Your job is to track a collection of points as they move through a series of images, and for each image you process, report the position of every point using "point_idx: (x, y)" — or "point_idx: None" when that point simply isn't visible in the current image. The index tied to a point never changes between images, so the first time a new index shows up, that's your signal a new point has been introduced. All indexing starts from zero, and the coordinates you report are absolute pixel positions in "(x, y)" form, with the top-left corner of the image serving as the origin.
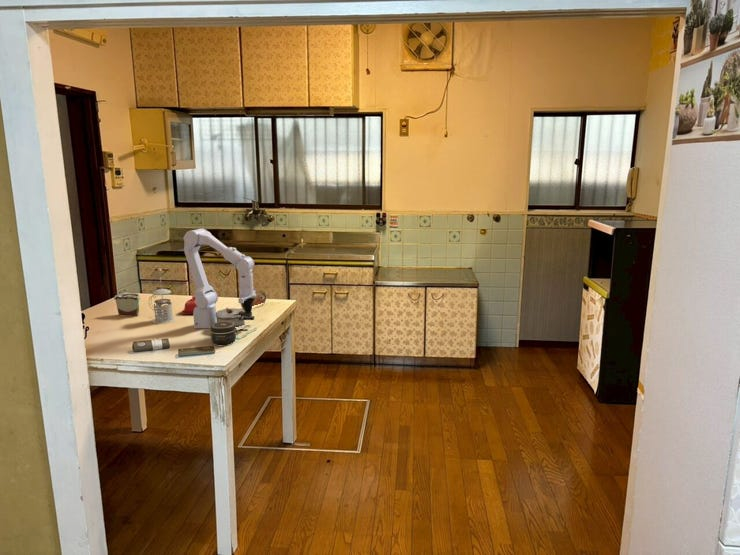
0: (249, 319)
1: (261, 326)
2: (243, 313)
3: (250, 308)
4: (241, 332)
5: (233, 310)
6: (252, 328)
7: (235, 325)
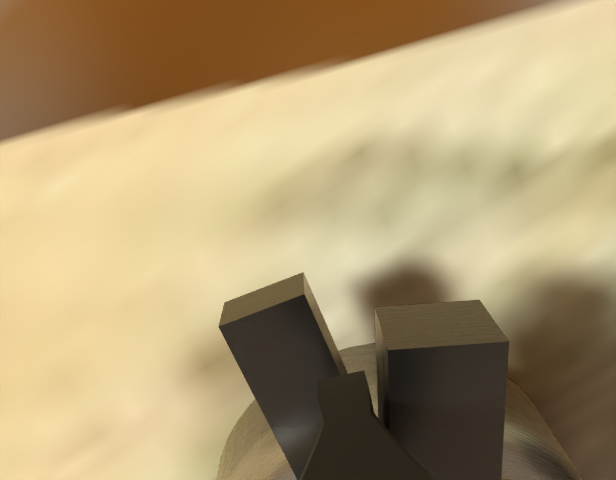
0: (330, 341)
1: (164, 175)
2: (491, 477)
3: (403, 448)
4: (507, 282)
5: None
6: (301, 244)
7: (526, 420)
